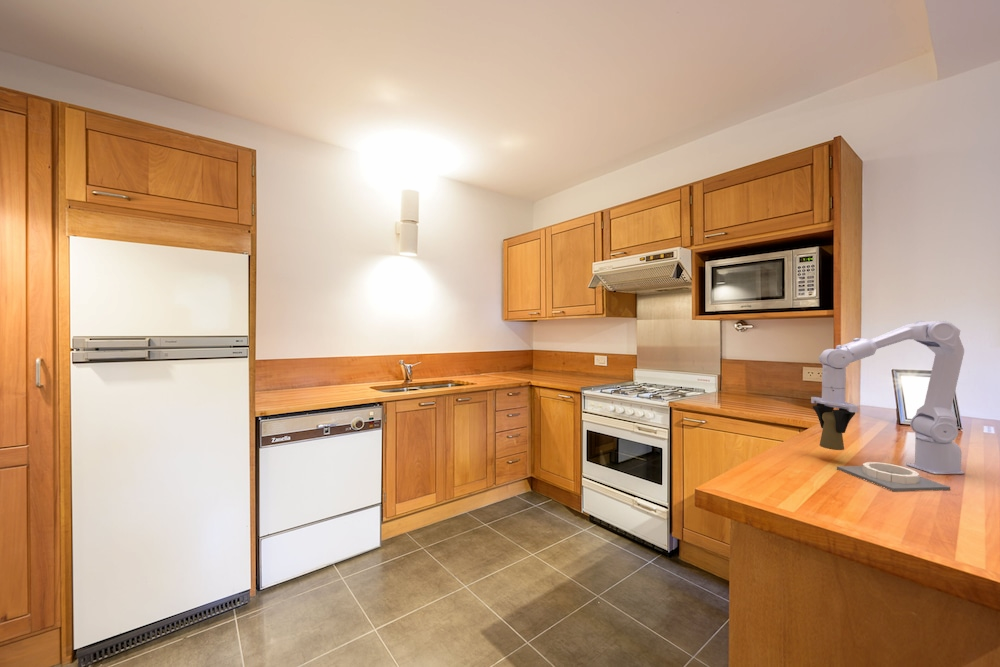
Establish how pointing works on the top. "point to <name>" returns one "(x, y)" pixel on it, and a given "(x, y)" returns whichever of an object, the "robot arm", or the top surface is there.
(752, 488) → the top surface
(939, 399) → the robot arm
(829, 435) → the cork
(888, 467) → the ring stand
